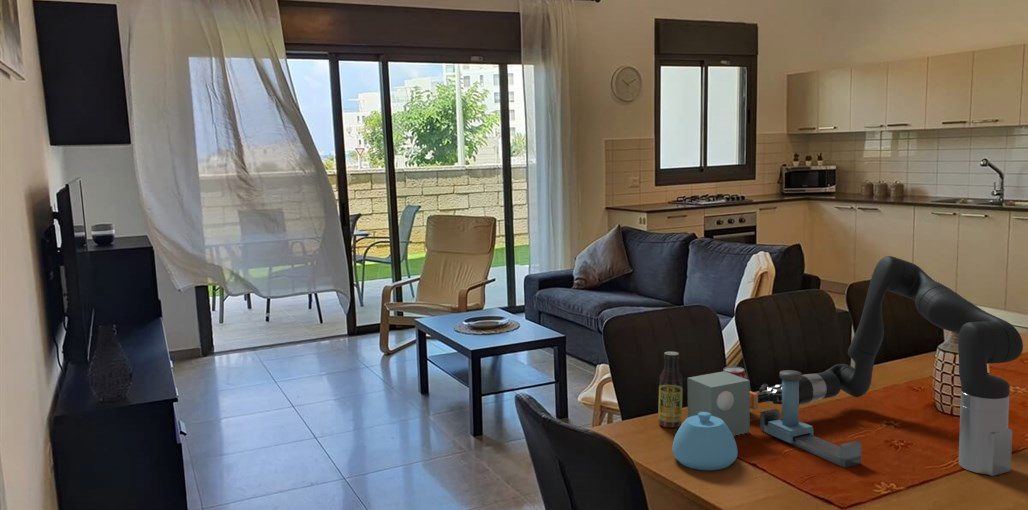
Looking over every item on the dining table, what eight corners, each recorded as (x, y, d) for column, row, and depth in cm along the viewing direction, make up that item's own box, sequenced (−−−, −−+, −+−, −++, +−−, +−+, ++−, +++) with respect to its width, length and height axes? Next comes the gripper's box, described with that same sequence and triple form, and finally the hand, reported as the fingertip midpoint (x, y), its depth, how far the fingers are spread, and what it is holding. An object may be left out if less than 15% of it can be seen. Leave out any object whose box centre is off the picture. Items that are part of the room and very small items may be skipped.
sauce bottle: (657, 428, 208) (656, 355, 205) (659, 420, 214) (657, 349, 211) (682, 429, 206) (681, 356, 204) (683, 421, 212) (682, 350, 210)
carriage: (813, 437, 194) (813, 374, 192) (790, 443, 191) (790, 379, 189) (790, 428, 202) (790, 367, 200) (767, 433, 199) (767, 371, 197)
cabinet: (751, 433, 201) (751, 380, 199) (713, 441, 196) (712, 388, 195) (724, 421, 211) (724, 371, 209) (688, 429, 206) (687, 377, 204)
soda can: (744, 406, 223) (744, 365, 221) (749, 414, 216) (749, 372, 214) (719, 406, 223) (719, 365, 222) (723, 414, 216) (723, 372, 215)
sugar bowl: (660, 454, 190) (660, 408, 188) (713, 444, 195) (712, 399, 193) (695, 477, 176) (694, 428, 174) (750, 466, 181) (750, 418, 179)
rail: (860, 463, 179) (861, 442, 179) (844, 467, 177) (845, 446, 177) (775, 427, 205) (775, 408, 204) (760, 430, 203) (760, 412, 202)
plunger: (757, 408, 202) (757, 393, 201) (732, 414, 199) (732, 398, 198) (747, 404, 206) (747, 389, 205) (722, 409, 202) (722, 394, 202)
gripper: (786, 369, 216) (736, 379, 209) (822, 381, 204) (770, 391, 197) (786, 396, 217) (736, 406, 210) (822, 409, 205) (770, 420, 198)
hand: (753, 399), depth 204 cm, fingers closed
